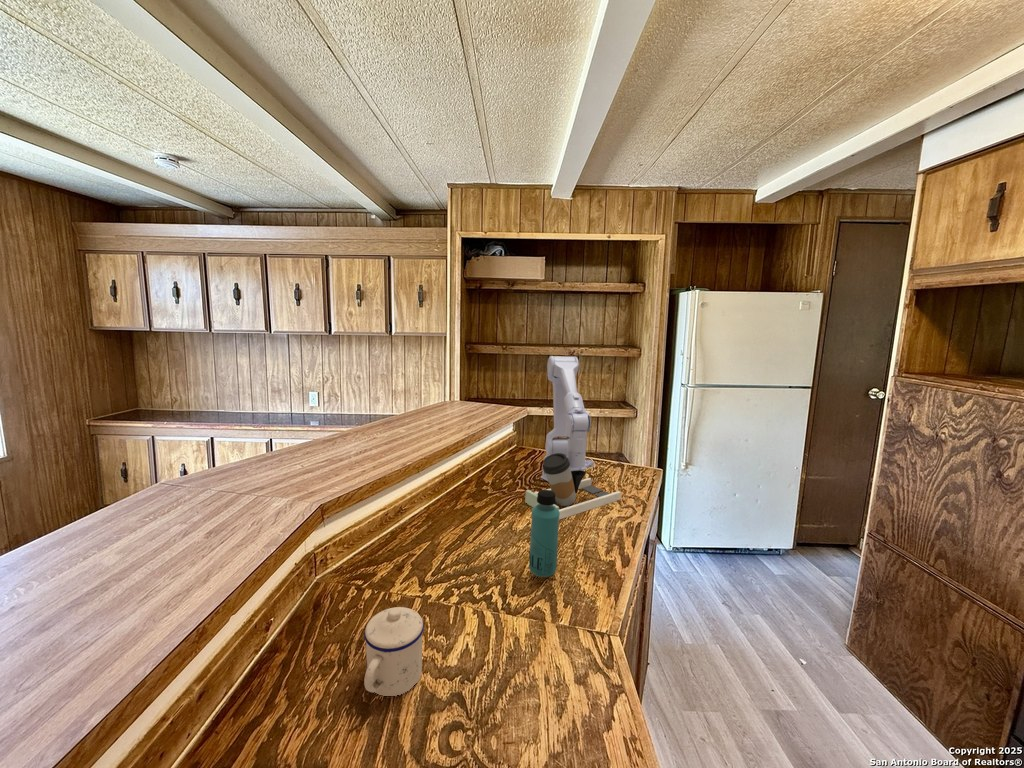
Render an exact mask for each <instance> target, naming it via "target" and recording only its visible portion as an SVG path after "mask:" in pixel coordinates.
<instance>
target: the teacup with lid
mask: <svg viewBox="0 0 1024 768" xmlns="http://www.w3.org/2000/svg"><path fill="white" fill-rule="evenodd" d="M424 624H425V623H424V620H423V619H422V616H420V614H419V613H418V612H417V611H416V610H413V609H411V608H410V607H409V608H408V607H403V606H399V607H398V606H397V607H395V606H394V607H391V608H386V609H384V610H382V611H380V612H378V613H376V614H375V615H374V616H372V618H371V619H370V620H368V623H367V624H366V627H365V629H364V640H365V646H366V647H365V648H366V649H365V650H366V651H365V652H366V653H365V656H366V658H365V660H366V661H365V662H366V664H365V665H366V671H365V675H364V679H363V680H364V681H363V683H364V684H363V685H364V688H365V689H366V691H368V692H369V693H374V692H375V693H377V694H379V695H383V696H395V697H398V696H397V695H399V696H402V695H404V694H406V693H407V691H408V692H409V691H411V690H412V689H413V688H414V687H415V686H416V685H417V684H418V682H419V681H420V679H421V677H422V674H423V632H424V630H425V629H424V627H425V625H424ZM416 683H417V684H416ZM415 684H416V685H415ZM414 685H415V686H414ZM413 686H414V687H413ZM412 687H413V688H412ZM411 688H412V689H411ZM410 689H411V690H410ZM405 692H406V693H405ZM375 693H374V694H375ZM403 693H404V694H403ZM377 694H376V695H377ZM401 694H402V695H401ZM379 695H378V696H379ZM383 696H382V697H383Z"/></svg>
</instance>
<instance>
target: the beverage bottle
mask: <svg viewBox="0 0 1024 768" xmlns="http://www.w3.org/2000/svg"><path fill="white" fill-rule="evenodd" d="M537 492H538V496H537V502H538V503H539V504H538V505H536V506H535V507H534V508H533V507H532V509H531V522H530V523H531V524H530V529H529V531H530V532H529V533H530V534H529V536H530V539H529V540H530V541H529V553H528V568H529V571H530V572H531V573H532V574H533V575H535V576H536V577H537V576H538V577H542V578H549V577H551V576H553V575H554V574H555V573H556V572H557V565H558V557H559V556H558V548H559V545H558V543H559V541H558V540H559V524H560V520H559V515H560V512H559V510H560V509H559V510H558V509H557V508H556V507H555V506H554V505H553V504H555V505H556V503H557V502H556V499H555V493H554V492H553V491H550V490H546V489H541V490H539V491H537Z"/></svg>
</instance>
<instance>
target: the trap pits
mask: <svg viewBox="0 0 1024 768" xmlns="http://www.w3.org/2000/svg"><path fill="white" fill-rule="evenodd" d="M581 490H583V491H584V492H587V493H588V494H591V495H594V496H595V497H596V498H598V497H601V496H605V495H608V494H611V493H610V492H608V491H604V490H603V489H602V488H599V487H597V486H595V485H593V484H591V486H587V487H584V488H581ZM601 491H602V492H601Z"/></svg>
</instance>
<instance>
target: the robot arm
mask: <svg viewBox="0 0 1024 768" xmlns="http://www.w3.org/2000/svg"><path fill="white" fill-rule="evenodd" d="M579 362H580V361H579V359H578V357H577V356H563V355H562V356H561V355H560V356H557V355H555V356H553V355H550V356H549V357H548V359H547V364H546V365H547V366H546V367H547V368H546V369H547V370H546V371H547V373H546V375H547V380H548V381H550V382H551V384H552V396H553V397H552V401H553V402H552V405H553V406H552V407H553V429H551V431H549V432H548V433H547V434H546V436H545V437H546V438H545V446H544V447H545V448H544V449H545V452H546V454H545V456H544V457H543V460H544V459H545V458H546V457H547V456H549V455H551V454H555V453H561V454H564V455H565V456H566V457H567V458H568V460H569V462H570V469H571V474H572V478H573V482H574V487H575V493H576V494H578V492H579V489H578V488H579V485H580V482H581V481H582V480H583V478H584V477H585V476H586V471H587V468H594V466H595V461H594V460H591V459H587V460H586V453H587V452H586V451H587V439H588V432H590V429H591V427H592V422H591V421H592V420H591V415H590V413H589V412H588V411H587V409H586V408H585V406H584V405H585V404H584V401H583V396H582V395H581V394H580V393H579V392H578V387H577V379H576V376H577V375H578V372H579V367H580V363H579ZM540 478H541V479H543V480H544V481H547V482H548V479H547V477H546V474H545V472H544V471H543V470H542V475H541V476H540Z"/></svg>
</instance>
